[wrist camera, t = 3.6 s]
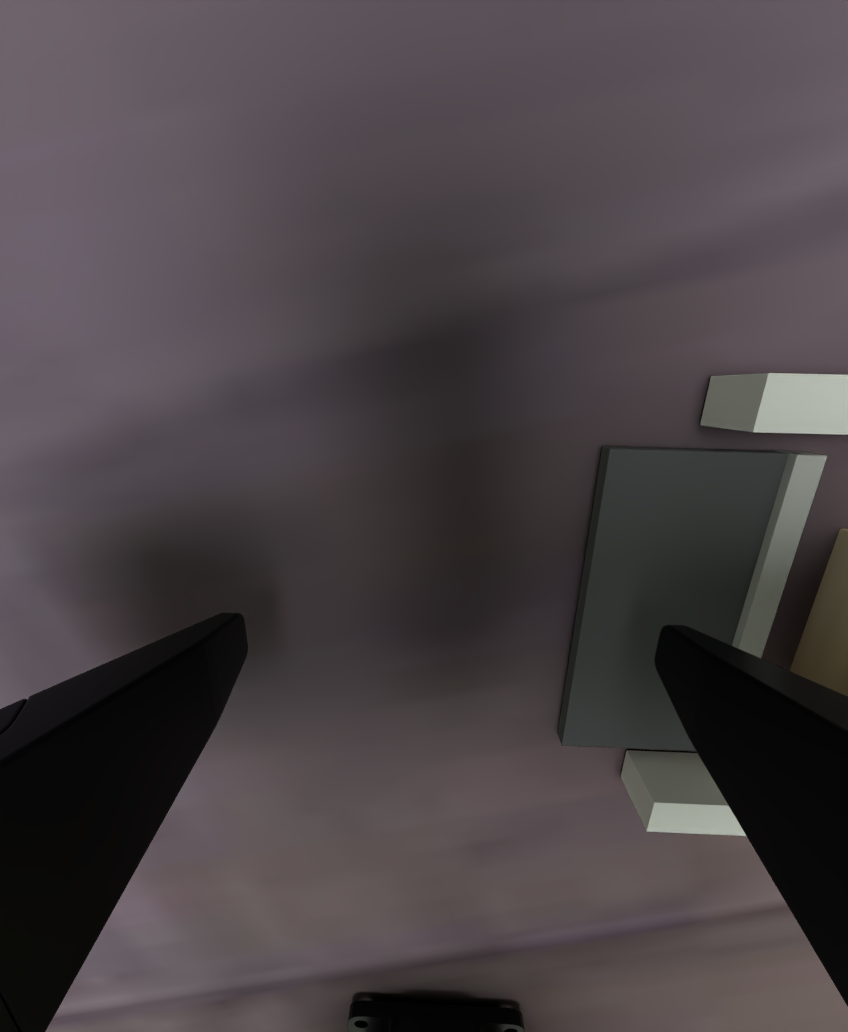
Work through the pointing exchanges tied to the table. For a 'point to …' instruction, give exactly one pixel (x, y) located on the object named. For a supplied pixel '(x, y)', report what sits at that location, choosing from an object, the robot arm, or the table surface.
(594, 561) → the pad
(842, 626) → the maple block
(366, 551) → the table surface
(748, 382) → the guide rails
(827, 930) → the robot arm
